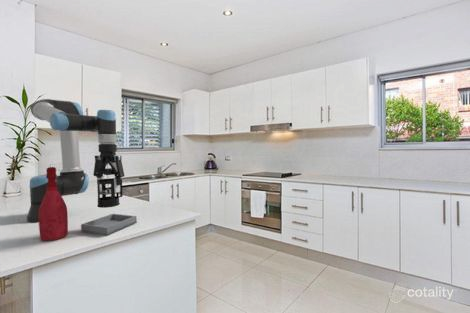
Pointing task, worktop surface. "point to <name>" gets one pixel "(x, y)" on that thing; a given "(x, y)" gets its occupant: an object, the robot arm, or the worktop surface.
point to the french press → (109, 200)
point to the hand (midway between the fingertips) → (109, 191)
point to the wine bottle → (52, 211)
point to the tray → (108, 224)
